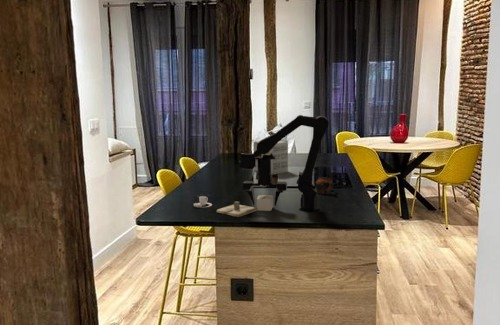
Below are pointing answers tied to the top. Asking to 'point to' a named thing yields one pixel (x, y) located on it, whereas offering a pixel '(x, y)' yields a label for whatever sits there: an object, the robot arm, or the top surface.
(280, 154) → the supplement box
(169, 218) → the top surface
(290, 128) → the robot arm
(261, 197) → the small white box
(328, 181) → the pottery mug
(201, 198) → the white ring with cylinder
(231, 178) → the top surface
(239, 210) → the board
